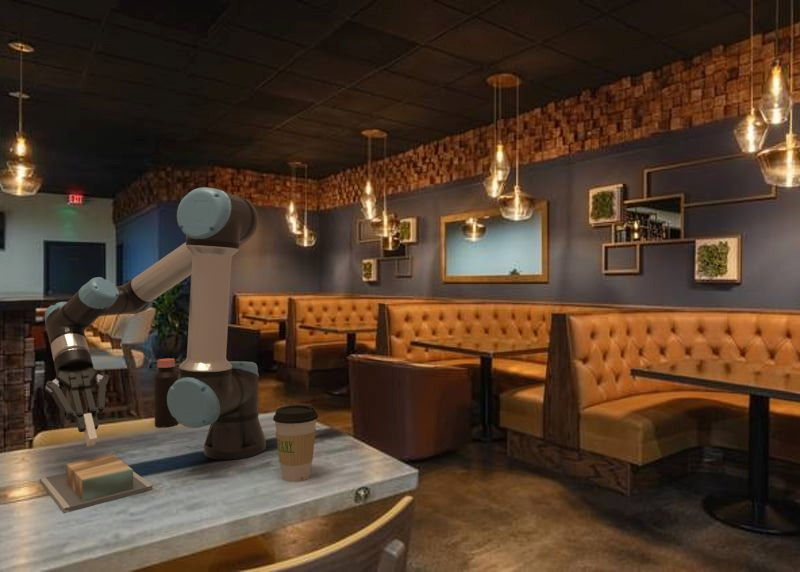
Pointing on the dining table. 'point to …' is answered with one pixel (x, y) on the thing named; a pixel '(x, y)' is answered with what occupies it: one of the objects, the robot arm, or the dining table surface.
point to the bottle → (164, 392)
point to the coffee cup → (295, 440)
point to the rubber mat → (72, 501)
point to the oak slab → (99, 477)
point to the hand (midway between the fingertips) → (92, 442)
